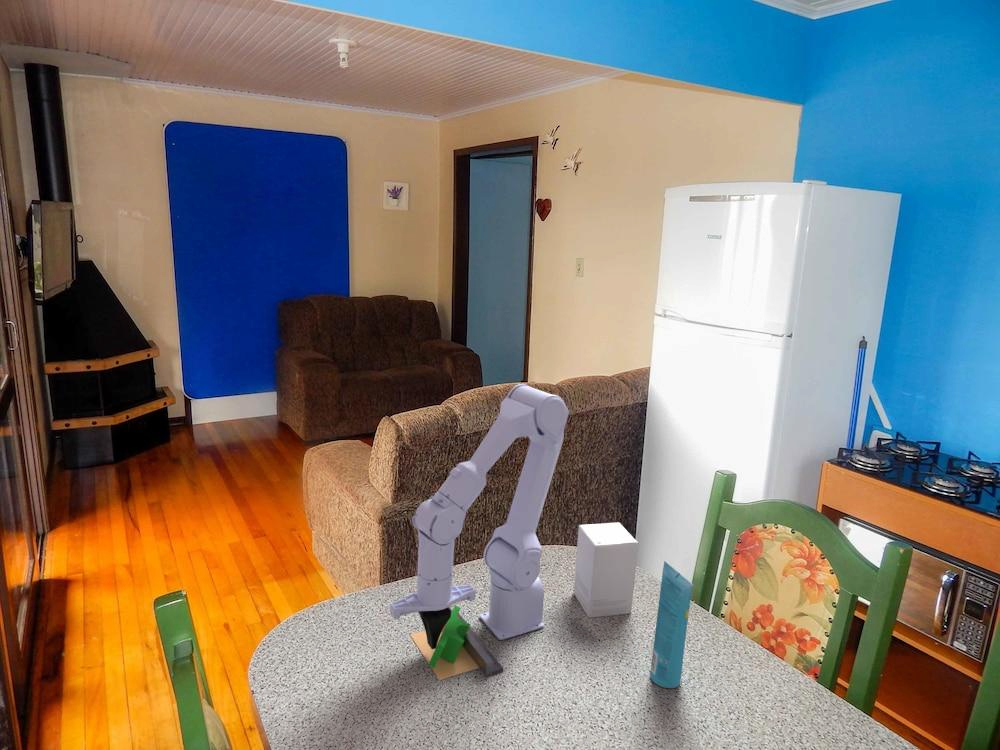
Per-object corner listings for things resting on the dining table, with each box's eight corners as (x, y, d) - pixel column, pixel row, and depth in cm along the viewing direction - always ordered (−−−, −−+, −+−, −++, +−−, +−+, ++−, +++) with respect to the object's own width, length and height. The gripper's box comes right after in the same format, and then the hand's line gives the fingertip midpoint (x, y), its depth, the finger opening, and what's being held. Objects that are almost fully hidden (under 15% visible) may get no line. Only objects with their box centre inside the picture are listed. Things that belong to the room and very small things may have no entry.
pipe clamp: (448, 676, 104) (459, 654, 103) (427, 665, 105) (437, 643, 103) (464, 634, 115) (474, 614, 114) (445, 624, 115) (455, 604, 114)
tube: (691, 689, 104) (705, 581, 100) (668, 697, 102) (681, 587, 97) (661, 661, 110) (673, 558, 106) (638, 668, 108) (649, 564, 104)
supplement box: (632, 614, 123) (640, 542, 120) (588, 619, 121) (594, 546, 118) (614, 588, 132) (620, 521, 129) (572, 592, 130) (577, 523, 127)
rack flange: (456, 613, 121) (456, 601, 121) (503, 671, 106) (504, 657, 105) (404, 627, 116) (404, 614, 116) (446, 690, 101) (446, 676, 100)
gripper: (464, 552, 113) (460, 622, 116) (384, 569, 106) (382, 642, 109) (483, 572, 107) (478, 645, 110) (399, 590, 100) (397, 668, 103)
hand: (431, 645), depth 109 cm, fingers closed, pressing on pipe clamp
